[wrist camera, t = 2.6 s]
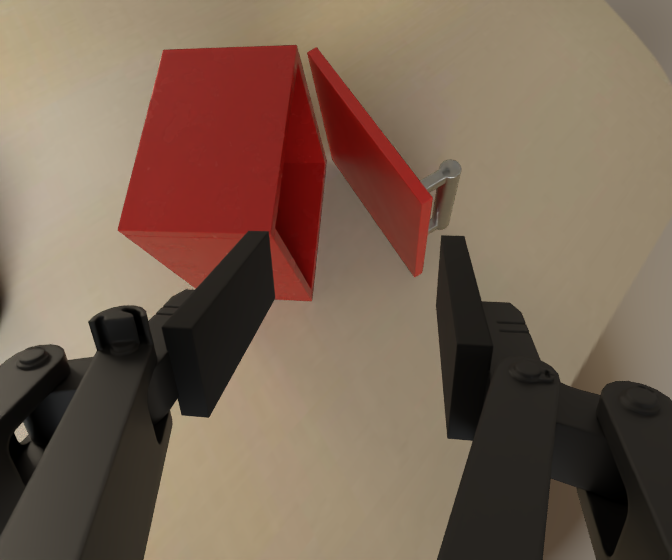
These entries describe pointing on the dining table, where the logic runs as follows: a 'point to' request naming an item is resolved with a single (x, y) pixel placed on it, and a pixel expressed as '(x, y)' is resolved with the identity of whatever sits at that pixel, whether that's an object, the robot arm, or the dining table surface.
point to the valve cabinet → (229, 164)
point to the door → (382, 170)
